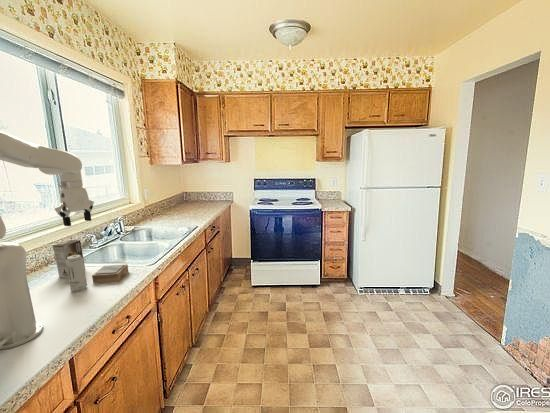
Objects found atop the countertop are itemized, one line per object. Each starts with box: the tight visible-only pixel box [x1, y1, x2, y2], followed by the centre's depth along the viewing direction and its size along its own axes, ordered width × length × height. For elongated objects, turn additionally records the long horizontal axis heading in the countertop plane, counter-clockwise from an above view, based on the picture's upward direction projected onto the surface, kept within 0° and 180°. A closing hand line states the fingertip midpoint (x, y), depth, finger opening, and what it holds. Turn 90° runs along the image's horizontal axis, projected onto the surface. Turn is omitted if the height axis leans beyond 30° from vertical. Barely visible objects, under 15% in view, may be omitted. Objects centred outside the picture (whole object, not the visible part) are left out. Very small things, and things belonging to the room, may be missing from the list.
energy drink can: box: [66, 255, 88, 293], centre depth 119 cm, size 6×6×15 cm
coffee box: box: [52, 239, 86, 279], centre depth 136 cm, size 9×6×16 cm
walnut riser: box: [91, 263, 129, 284], centre depth 131 cm, size 11×11×4 cm
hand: (78, 223), depth 123 cm, fingers open, 9 cm apart
